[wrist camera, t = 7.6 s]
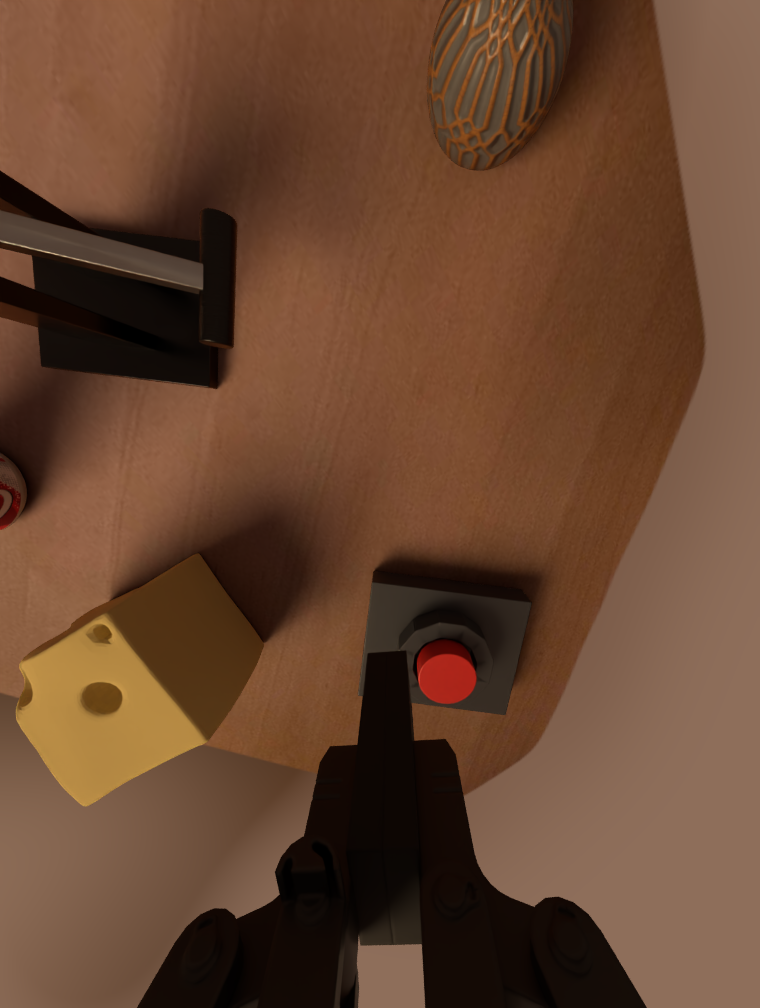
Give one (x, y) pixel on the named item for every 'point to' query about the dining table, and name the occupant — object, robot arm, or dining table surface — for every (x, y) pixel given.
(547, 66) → the vase
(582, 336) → the dining table surface
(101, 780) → the cheese
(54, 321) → the bracket
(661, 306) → the dining table surface
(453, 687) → the button
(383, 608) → the button block
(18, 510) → the soda can
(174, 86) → the dining table surface
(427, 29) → the dining table surface
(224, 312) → the lever
